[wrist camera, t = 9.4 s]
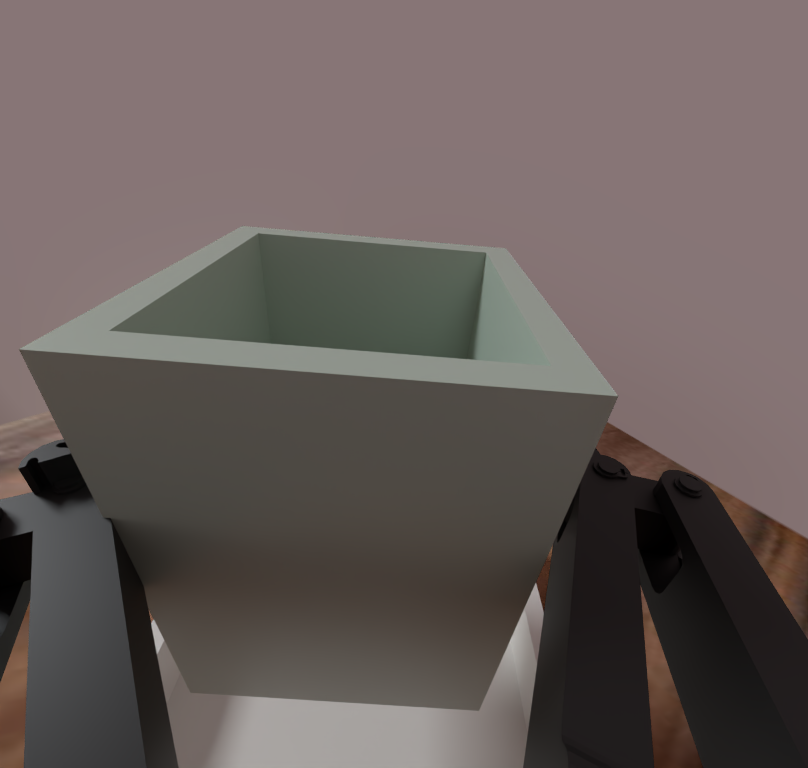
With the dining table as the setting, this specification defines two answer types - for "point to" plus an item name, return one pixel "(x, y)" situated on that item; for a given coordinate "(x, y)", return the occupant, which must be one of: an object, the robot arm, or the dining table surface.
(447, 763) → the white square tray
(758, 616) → the robot arm
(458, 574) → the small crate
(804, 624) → the dining table surface
